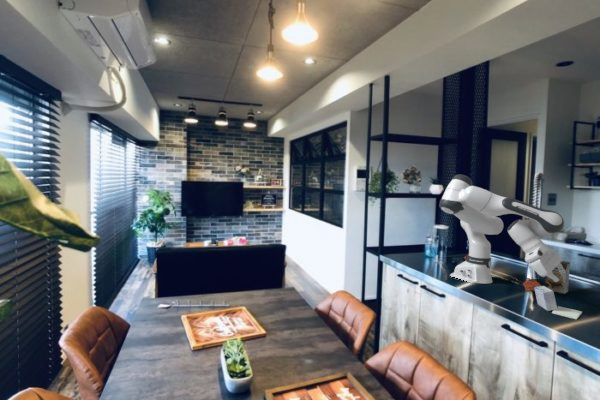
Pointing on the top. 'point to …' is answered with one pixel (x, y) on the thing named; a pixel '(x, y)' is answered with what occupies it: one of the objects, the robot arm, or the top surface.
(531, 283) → the pot
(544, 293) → the medicine box
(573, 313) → the sage mat
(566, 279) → the coffee box
